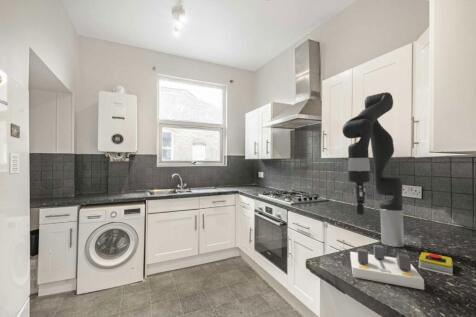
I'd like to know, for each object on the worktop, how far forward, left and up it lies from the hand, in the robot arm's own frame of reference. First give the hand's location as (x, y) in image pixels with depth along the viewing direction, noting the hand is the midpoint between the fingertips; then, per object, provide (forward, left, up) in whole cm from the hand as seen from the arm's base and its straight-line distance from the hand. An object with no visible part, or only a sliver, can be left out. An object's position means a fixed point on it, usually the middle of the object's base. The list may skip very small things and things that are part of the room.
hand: (360, 214), depth 85 cm
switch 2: (-1, +6, -16) cm, 17 cm away
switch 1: (+7, 0, -16) cm, 17 cm away
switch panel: (+4, +6, -19) cm, 20 cm away
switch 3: (+7, +12, -16) cm, 21 cm away
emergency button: (-12, +26, -20) cm, 34 cm away
